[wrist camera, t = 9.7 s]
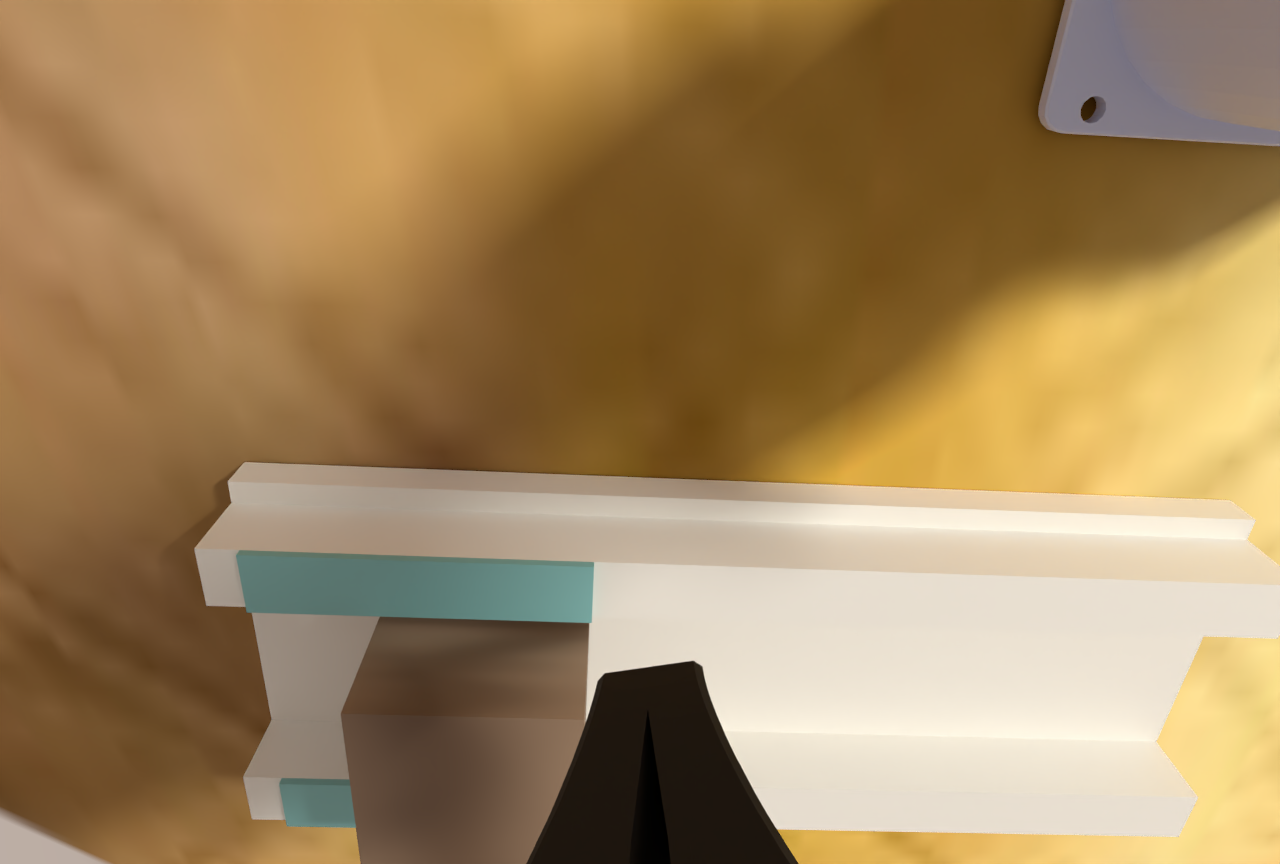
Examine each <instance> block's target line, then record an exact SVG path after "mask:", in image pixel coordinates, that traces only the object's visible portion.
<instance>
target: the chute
mask: <svg viewBox="0 0 1280 864" xmlns="http://www.w3.org/2000/svg"><path fill="white" fill-rule="evenodd" d="M228 487H229V492H230V498H231V504H230V505H229V506H228V508H227V509H226V510H225V511H224V512H223V514H222V515H221V516H220V517H219V519H218V520H217V521H216V522H215V524H214V525H213V526H212V527H211V528H210V530H209V531H208V532H207V533H206V535H205V536H204V537H203V538H202V540H201V541H200V542H199V543H198V544H197V546H196V547H195V548H194V550H195V555H196V559H197V564H198V569H199V573H200V578H201V583H202V587H203V592H204V597H205V601H206V606H230V607H246V612H247V613H252V617H253V622H254V627H255V633H256V638H257V644H258V649H259V654H260V660H261V665H262V671H263V676H264V682H265V687H266V692H267V698H268V703H269V709H270V714H271V719H272V720H271V722H270V724H269V726H268V728H267V730H266V732H265V734H264V736H263V738H262V740H261V742H260V744H259V746H258V748H257V750H256V752H255V754H254V756H253V758H252V760H251V762H250V764H249V766H248V768H247V770H246V772H245V774H244V776H243V779H244V784H245V789H246V793H247V798H248V803H249V807H250V812H251V817H252V819H266V820H286V824H287V826H296V827H350V828H356V824H355V817H354V810H353V802H352V795H351V787H350V780H349V773H348V765H347V758H346V750H345V743H344V736H343V728H342V721H341V711H342V709H343V706H344V704H345V701H346V699H347V697H348V694H349V692H350V689H351V687H352V684H353V682H354V679H355V677H356V674H357V672H358V669H359V667H360V664H361V662H362V659H363V657H364V654H365V652H366V650H367V647H368V645H369V642H370V640H371V637H372V635H373V632H374V630H375V627H376V625H377V622H378V620H379V617H410V618H443V619H476V620H509V621H542V622H575V623H589V649H588V675H587V702H586V720H587V717H588V714H589V711H590V707H591V704H592V701H593V697H594V694H595V690H596V685H597V681H598V680H599V679H600V678H601V677H602V675H603V674H604V673H610V672H617V671H624V670H631V669H638V668H645V667H652V666H659V665H666V664H673V663H680V662H687V661H695V662H696V663H698V664H700V665H701V666H703V672H704V678H705V682H706V685H707V689H708V692H709V695H710V698H711V701H712V704H713V706H714V709H715V711H716V714H717V716H718V719H719V721H720V723H721V726H722V728H723V730H724V733H725V735H726V737H727V739H728V741H729V744H730V746H731V748H732V750H733V752H734V754H735V756H736V758H737V760H738V762H739V763H740V765H741V767H742V769H743V771H744V773H745V775H746V777H747V779H748V780H749V782H750V784H751V786H752V788H753V790H754V792H755V794H756V795H757V797H758V799H759V800H760V802H761V804H762V806H763V807H764V809H765V811H766V813H767V814H768V816H769V818H770V819H771V821H772V823H773V824H774V826H775V827H776V829H793V830H845V831H898V832H951V833H1003V834H1056V835H1109V836H1162V837H1179V835H1180V833H1181V831H1182V829H1183V827H1184V825H1185V823H1186V821H1187V819H1188V817H1189V815H1190V813H1191V811H1192V809H1193V807H1194V805H1195V803H1196V801H1197V799H1198V797H1197V795H1196V794H1195V793H1194V791H1193V790H1192V789H1191V787H1190V786H1189V785H1188V783H1187V782H1186V781H1185V779H1184V778H1183V777H1182V775H1181V774H1180V773H1179V771H1178V770H1177V769H1176V767H1175V766H1174V765H1173V763H1172V762H1171V761H1170V759H1169V758H1168V757H1167V755H1166V754H1165V753H1164V751H1163V750H1162V749H1161V747H1160V746H1159V745H1158V743H1157V742H1156V741H1157V739H1158V736H1159V734H1160V732H1161V730H1162V728H1163V725H1164V723H1165V721H1166V719H1167V716H1168V714H1169V712H1170V710H1171V708H1172V705H1173V703H1174V701H1175V699H1176V696H1177V694H1178V692H1179V690H1180V688H1181V685H1182V683H1183V681H1184V679H1185V676H1186V674H1187V672H1188V670H1189V668H1190V665H1191V663H1192V661H1193V659H1194V656H1195V654H1196V652H1197V650H1198V648H1199V645H1200V643H1201V641H1202V639H1203V636H1210V637H1243V638H1276V639H1278V637H1279V635H1280V566H1279V565H1278V564H1276V563H1275V562H1274V561H1273V560H1272V559H1270V558H1269V557H1268V556H1267V555H1265V554H1264V553H1263V552H1262V551H1261V550H1259V549H1258V548H1257V547H1256V546H1254V545H1253V544H1252V543H1251V542H1249V541H1248V540H1247V539H1248V536H1249V534H1250V532H1251V530H1252V527H1253V525H1254V523H1255V521H1256V520H1255V519H1254V518H1253V517H1251V516H1250V515H1249V514H1247V513H1246V512H1245V511H1244V510H1242V509H1241V508H1240V507H1238V506H1237V505H1236V504H1235V503H1233V502H1232V501H1231V500H1214V499H1188V498H1162V497H1136V496H1110V495H1084V494H1058V493H1032V492H1007V491H981V490H955V489H929V488H903V487H877V486H851V485H825V484H799V483H773V482H747V481H721V480H695V479H669V478H643V477H617V476H591V475H565V474H539V473H513V472H487V471H461V470H436V469H410V468H384V467H358V466H332V465H306V464H280V463H254V462H244V463H243V464H242V465H241V466H240V468H239V469H238V470H237V471H236V472H235V473H234V475H233V476H232V477H231V478H230V479H229V480H228Z"/></svg>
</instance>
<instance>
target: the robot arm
mask: <svg viewBox="0 0 1280 864" xmlns="http://www.w3.org/2000/svg"><path fill="white" fill-rule="evenodd" d="M1090 97H1094V99H1095V101H1096V110H1095V112H1094V114H1093V115H1092V116H1091V117H1090V118H1089V119H1087V120H1085V121H1083V119H1082V118H1081V108H1082V106H1083V104H1084V102H1085V101H1086V100H1088V99H1089V98H1090ZM1038 116H1039V119H1040V122H1041V124H1042V125H1043V126H1044V127H1045V128H1046V129H1047V130H1051V131H1054V132H1058V133H1064V134H1080V135H1097V136H1114V137H1131V138H1148V139H1165V140H1182V141H1199V142H1216V143H1233V144H1249V145H1266V146H1280V0H1065V3H1064V7H1063V11H1062V15H1061V19H1060V23H1059V27H1058V31H1057V35H1056V39H1055V43H1054V47H1053V51H1052V55H1051V59H1050V63H1049V67H1048V71H1047V75H1046V79H1045V83H1044V87H1043V91H1042V95H1041V99H1040V103H1039V111H1038ZM526 864H798V862H797V861H796V859H795V858H794V856H793V855H792V853H791V851H790V850H789V848H788V847H787V845H786V844H785V842H784V840H783V839H782V837H781V835H780V834H779V832H778V831H777V829H776V827H775V826H774V824H773V823H772V821H771V819H770V818H769V816H768V814H767V813H766V811H765V809H764V807H763V806H762V804H761V802H760V800H759V799H758V797H757V795H756V794H755V792H754V790H753V788H752V786H751V784H750V782H749V780H748V779H747V777H746V775H745V773H744V771H743V769H742V767H741V765H740V763H739V762H738V760H737V758H736V756H735V754H734V752H733V750H732V748H731V746H730V744H729V741H728V739H727V737H726V735H725V733H724V730H723V728H722V726H721V723H720V721H719V719H718V716H717V714H716V711H715V709H714V706H713V704H712V701H711V698H710V695H709V692H708V689H707V685H706V682H705V678H704V672H703V666H701V665H700V664H698V663H696V662H695V661H687V662H680V663H673V664H666V665H659V666H652V667H645V668H638V669H631V670H624V671H617V672H610V673H604V674H603V675H602V677H601V678H600V679H599V680H598V681H597V685H596V690H595V694H594V697H593V701H592V704H591V707H590V711H589V714H588V717H587V720H586V723H585V726H584V729H583V732H582V735H581V738H580V740H579V743H578V746H577V749H576V751H575V754H574V757H573V760H572V762H571V764H570V767H569V769H568V772H567V774H566V777H565V779H564V782H563V784H562V786H561V789H560V791H559V794H558V796H557V799H556V801H555V803H554V806H553V808H552V810H551V813H550V815H549V817H548V819H547V822H546V824H545V826H544V828H543V830H542V832H541V834H540V836H539V838H538V840H537V842H536V844H535V847H534V849H533V851H532V853H531V855H530V857H529V859H528V861H527V863H526Z"/></svg>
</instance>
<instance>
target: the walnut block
mask: <svg viewBox="0 0 1280 864" xmlns="http://www.w3.org/2000/svg"><path fill="white" fill-rule="evenodd" d="M588 649H589V623H575V622H542V621H509V620H476V619H443V618H410V617H379V620H378V622H377V625H376V627H375V630H374V632H373V635H372V637H371V640H370V642H369V645H368V647H367V650H366V652H365V654H364V657H363V659H362V662H361V664H360V667H359V669H358V672H357V674H356V677H355V679H354V682H353V684H352V687H351V689H350V692H349V694H348V697H347V699H346V701H345V704H344V706H343V709H342V711H341V721H342V728H343V736H344V743H345V750H346V758H347V765H348V773H349V780H350V787H351V795H352V802H353V810H354V817H355V824H356V832H357V839H358V847H359V854H360V861H361V864H526V863H527V861H528V859H529V857H530V855H531V853H532V851H533V849H534V847H535V844H536V842H537V840H538V838H539V836H540V834H541V832H542V830H543V828H544V826H545V824H546V822H547V819H548V817H549V815H550V813H551V810H552V808H553V806H554V803H555V801H556V799H557V796H558V794H559V791H560V789H561V786H562V784H563V782H564V779H565V777H566V774H567V772H568V769H569V767H570V764H571V762H572V760H573V757H574V754H575V751H576V749H577V746H578V743H579V740H580V738H581V735H582V732H583V729H584V726H585V723H586V702H587V675H588Z"/></svg>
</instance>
